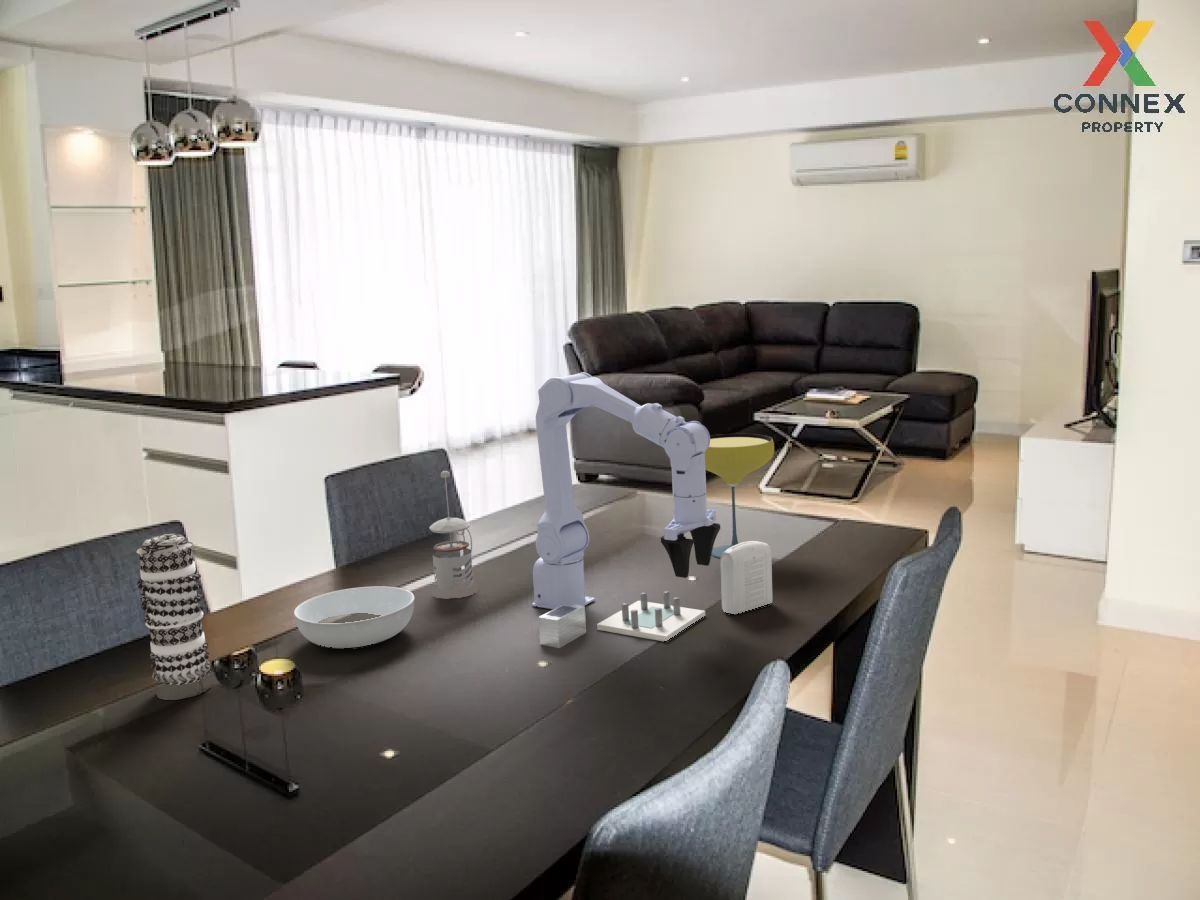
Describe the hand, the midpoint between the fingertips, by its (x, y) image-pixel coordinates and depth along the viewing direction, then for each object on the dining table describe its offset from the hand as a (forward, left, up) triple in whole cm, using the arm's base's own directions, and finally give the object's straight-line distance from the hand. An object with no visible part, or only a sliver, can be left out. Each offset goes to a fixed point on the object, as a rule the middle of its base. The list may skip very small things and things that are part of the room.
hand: (692, 570), depth 170 cm
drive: (-18, -15, -10) cm, 25 cm away
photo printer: (+4, +12, -10) cm, 17 cm away
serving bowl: (-51, -31, -10) cm, 61 cm away
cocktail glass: (-14, +44, -10) cm, 47 cm away
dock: (-8, -2, -10) cm, 13 cm away
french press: (-54, -2, -10) cm, 55 cm away
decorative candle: (-60, -60, -10) cm, 85 cm away
